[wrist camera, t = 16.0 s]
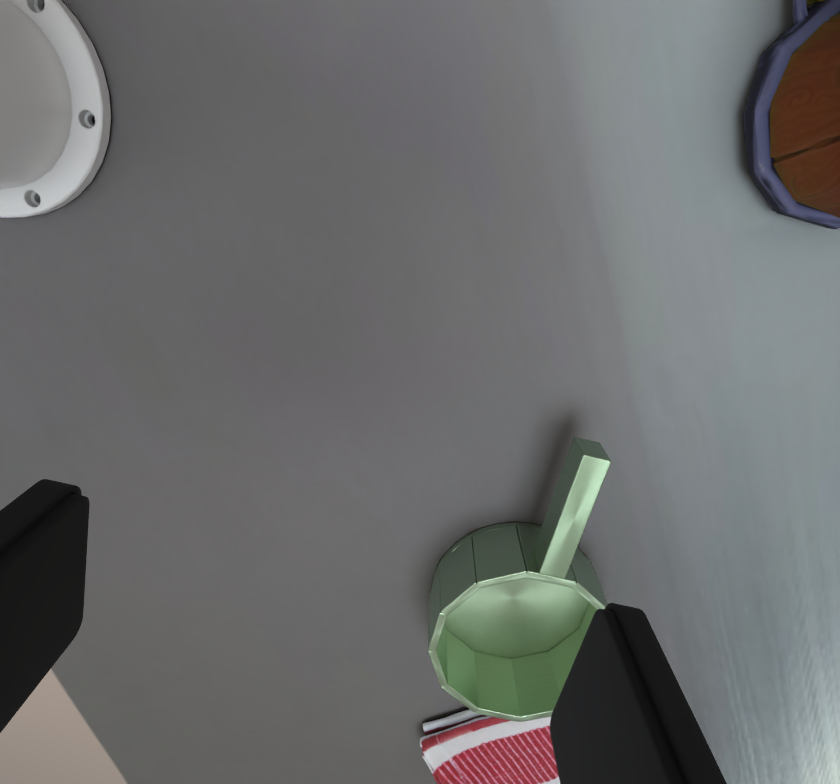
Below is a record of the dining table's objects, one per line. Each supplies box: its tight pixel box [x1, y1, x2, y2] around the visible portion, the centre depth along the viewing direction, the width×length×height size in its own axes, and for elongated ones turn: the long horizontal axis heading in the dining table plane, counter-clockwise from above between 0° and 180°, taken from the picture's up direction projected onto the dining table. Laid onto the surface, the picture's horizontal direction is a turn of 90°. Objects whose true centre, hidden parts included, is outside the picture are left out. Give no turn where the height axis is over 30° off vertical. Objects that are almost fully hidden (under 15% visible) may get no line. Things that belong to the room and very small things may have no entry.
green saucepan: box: [428, 437, 611, 722], centre depth 38 cm, size 20×12×6 cm, turn 166°
